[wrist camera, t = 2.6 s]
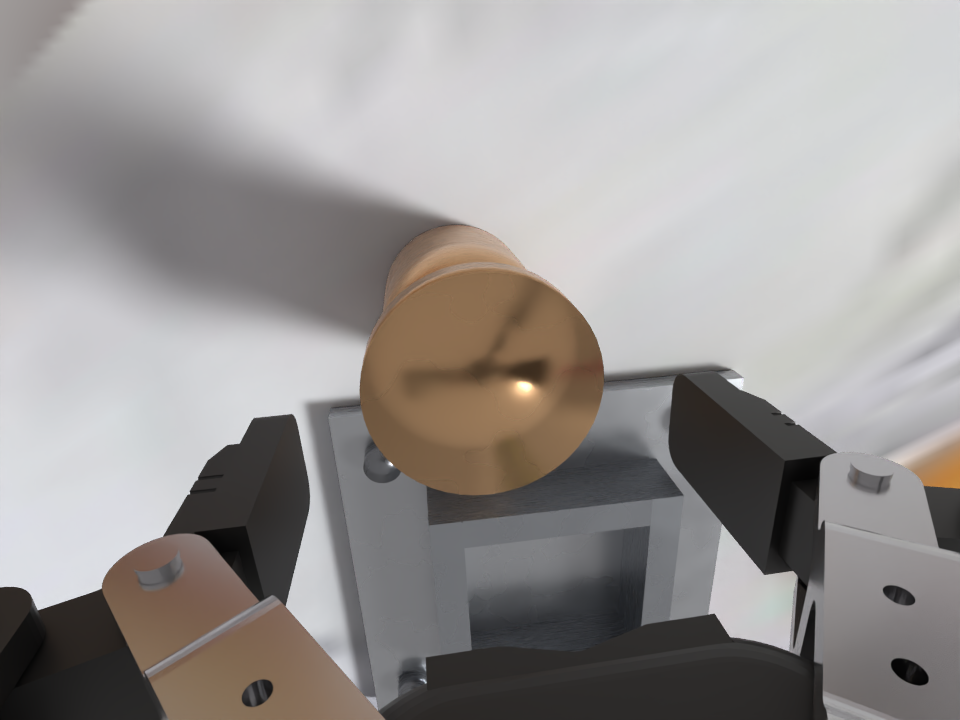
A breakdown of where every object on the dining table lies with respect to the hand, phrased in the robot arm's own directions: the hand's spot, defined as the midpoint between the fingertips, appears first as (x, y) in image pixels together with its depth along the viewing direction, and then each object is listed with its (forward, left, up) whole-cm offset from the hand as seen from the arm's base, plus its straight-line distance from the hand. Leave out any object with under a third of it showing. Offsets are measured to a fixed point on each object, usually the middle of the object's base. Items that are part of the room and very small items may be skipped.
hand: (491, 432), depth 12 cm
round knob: (0, 0, -9) cm, 9 cm away
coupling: (+12, +3, -9) cm, 15 cm away
